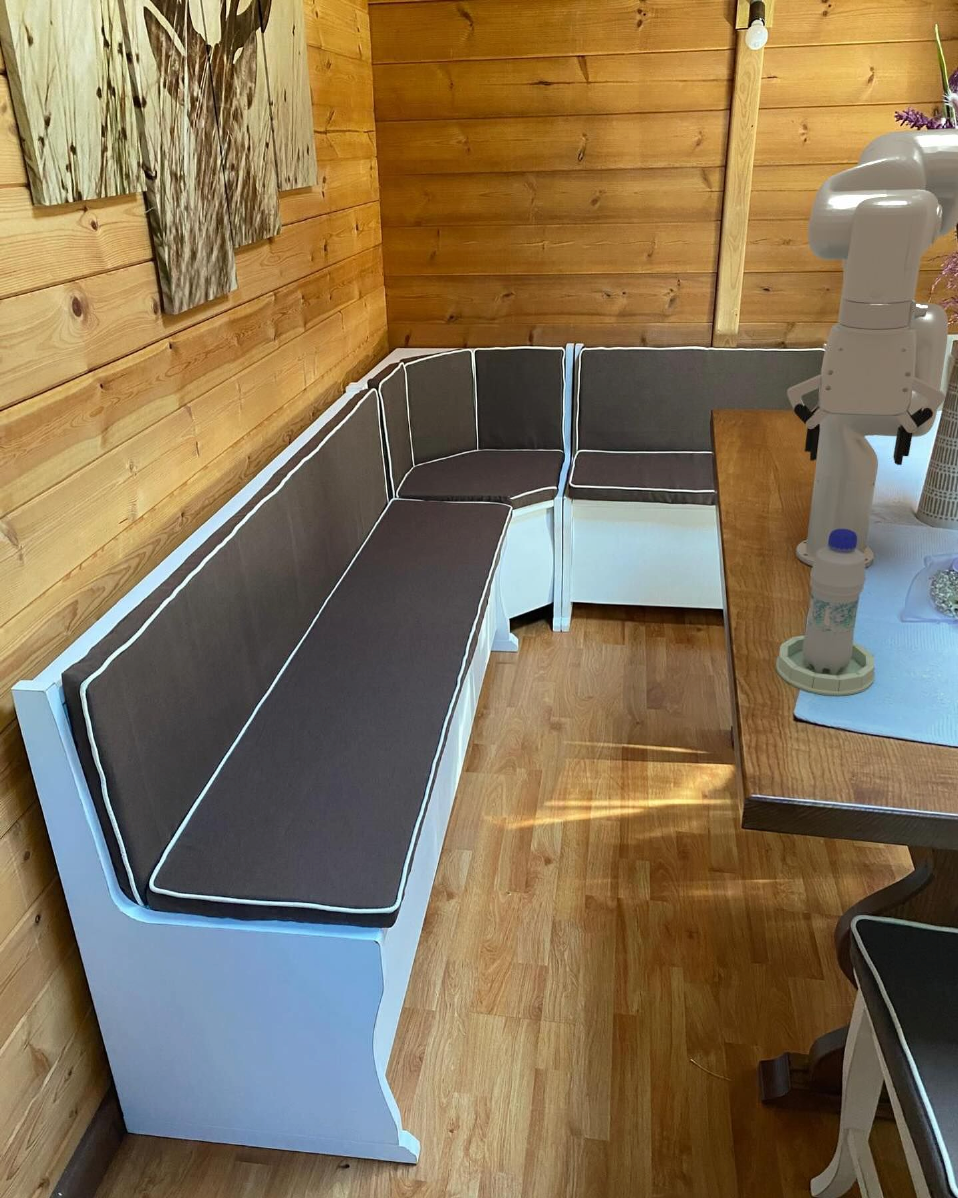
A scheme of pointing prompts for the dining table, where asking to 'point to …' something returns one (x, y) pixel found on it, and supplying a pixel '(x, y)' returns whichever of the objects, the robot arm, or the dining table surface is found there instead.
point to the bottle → (834, 603)
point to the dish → (825, 671)
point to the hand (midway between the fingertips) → (854, 459)
